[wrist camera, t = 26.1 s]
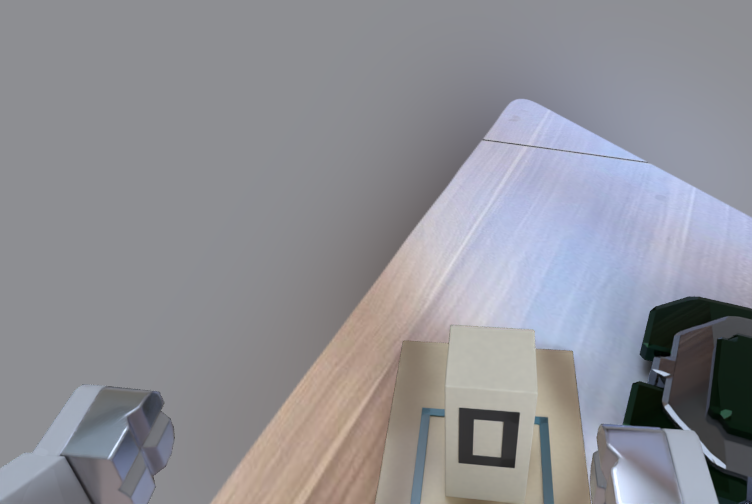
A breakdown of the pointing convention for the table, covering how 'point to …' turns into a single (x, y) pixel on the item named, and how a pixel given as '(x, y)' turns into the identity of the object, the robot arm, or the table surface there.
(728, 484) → the four-lobed dark green device
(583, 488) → the word board
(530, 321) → the table surface
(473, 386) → the letter block
